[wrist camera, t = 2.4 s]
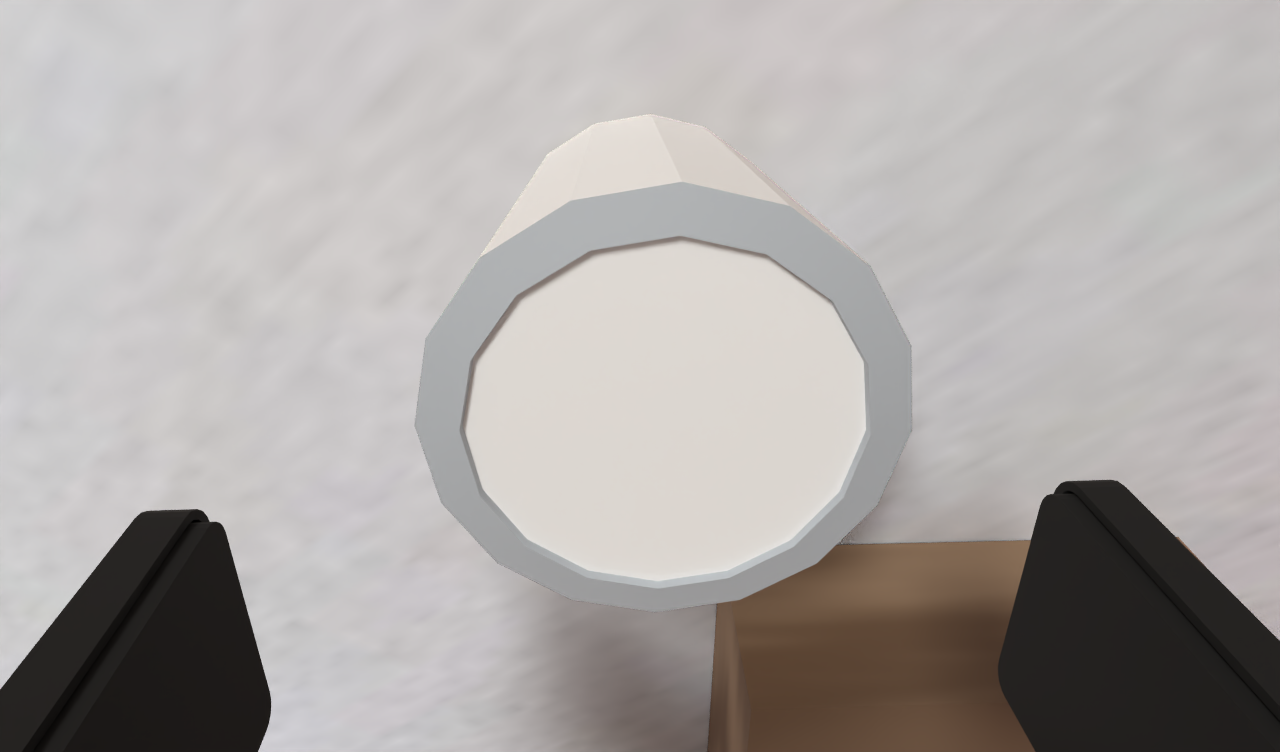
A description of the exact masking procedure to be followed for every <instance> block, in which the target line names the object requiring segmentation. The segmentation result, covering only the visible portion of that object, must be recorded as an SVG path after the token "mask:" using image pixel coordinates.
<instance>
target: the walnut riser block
mask: <svg viewBox="0 0 1280 752" xmlns="http://www.w3.org/2000/svg"><path fill="white" fill-rule="evenodd" d="M1176 538H1177V539H1178V540H1179V541H1180V542H1181V543H1182V544H1183V545H1184V546H1185V547H1186V548H1187V549H1188V550H1189V551H1190V552H1191V553H1192V551H1191V550H1190V549H1189V548H1188V547H1187V546H1186V545H1185V544H1184V543H1183V542H1182V541H1181V540H1180V538H1179V537H1176ZM1030 542H1031V540H1027V541H985V542H943V543H900V544H858V545H835V546H834V547H833V548H832V549H831V550H830V551H829V552H828V553H827V554H826V555H825V556H824V557H823V558H822V559H821V560H820V561H819V562H818V563H817V564H815V565H813V566H810V567H808V568H806V569H804V570H802V571H800V572H798V573H796V574H794V575H791V576H789V577H787V578H785V579H783V580H781V581H779V582H777V583H775V584H772V585H770V586H768V587H766V588H764V589H762V590H760V591H758V592H756V593H753V594H751V595H749V596H747V597H745V598H743V599H741V600H736V601H729V602H723V603H717V613H716V629H715V644H714V659H713V675H712V690H711V705H710V721H709V736H708V752H1035V750H1034V748H1033V746H1032V745H1031V743H1030V741H1029V739H1028V737H1027V736H1026V734H1025V732H1024V730H1023V729H1022V727H1021V725H1020V723H1019V721H1018V720H1017V718H1016V716H1015V714H1014V712H1013V711H1012V709H1011V707H1010V705H1009V704H1008V702H1007V700H1006V698H1005V696H1004V694H1003V692H1002V690H1001V686H1000V683H999V677H998V662H999V658H1000V654H1001V650H1002V647H1003V643H1004V639H1005V635H1006V632H1007V628H1008V624H1009V620H1010V617H1011V613H1012V609H1013V606H1014V602H1015V598H1016V594H1017V591H1018V587H1019V583H1020V579H1021V576H1022V572H1023V568H1024V565H1025V561H1026V557H1027V553H1028V550H1029V546H1030ZM1192 554H1193V553H1192ZM1193 555H1194V554H1193ZM1194 556H1195V555H1194ZM1195 557H1196V556H1195ZM1196 558H1197V557H1196ZM1197 559H1198V558H1197ZM1198 560H1199V559H1198ZM1199 561H1200V560H1199ZM1200 562H1201V561H1200ZM1201 563H1202V562H1201ZM1202 564H1203V563H1202ZM1203 565H1204V564H1203ZM1204 566H1205V565H1204Z"/></svg>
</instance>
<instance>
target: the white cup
mask: <svg viewBox="0 0 1280 752" xmlns="http://www.w3.org/2000/svg"><path fill="white" fill-rule="evenodd" d="M415 428H416V431H417V434H418V437H419V440H420V443H421V445H422V448H423V451H424V454H425V457H426V460H427V463H428V466H429V469H430V471H431V474H432V477H433V480H434V483H435V486H436V489H437V492H438V495H439V497H440V500H441V503H442V504H443V505H444V506H445V508H446V509H447V510H448V511H449V512H450V513H451V514H452V515H453V516H454V517H455V518H456V519H457V520H458V521H459V523H460V524H461V525H462V526H463V527H464V528H465V529H466V530H467V531H468V532H469V533H470V534H471V535H472V536H473V538H474V539H475V540H476V541H477V542H478V543H479V544H480V545H481V546H482V547H483V548H484V549H485V550H486V551H487V553H488V554H489V555H490V556H491V557H492V558H493V559H494V560H495V561H496V562H497V563H498V564H500V565H502V566H504V567H506V568H508V569H510V570H512V571H514V572H516V573H518V574H520V575H522V576H524V577H526V578H528V579H530V580H532V581H534V582H536V583H538V584H540V585H542V586H545V587H547V588H549V589H551V590H553V591H555V592H557V593H559V594H561V595H563V596H565V597H567V598H569V599H571V600H575V601H582V602H588V603H595V604H602V605H609V606H616V607H622V608H629V609H636V610H643V611H649V612H662V611H668V610H675V609H682V608H689V607H695V606H702V605H709V604H716V603H723V602H729V601H736V600H741V599H743V598H745V597H747V596H749V595H751V594H753V593H756V592H758V591H760V590H762V589H764V588H766V587H768V586H770V585H772V584H775V583H777V582H779V581H781V580H783V579H785V578H787V577H789V576H791V575H794V574H796V573H798V572H800V571H802V570H804V569H806V568H808V567H810V566H813V565H815V564H817V563H818V562H819V561H820V560H821V559H822V558H823V557H824V556H825V555H826V554H827V553H828V552H829V551H830V550H831V549H832V548H833V547H834V546H835V545H836V544H838V543H839V542H840V541H841V540H842V539H843V538H844V537H845V536H846V535H847V534H848V533H849V532H850V531H851V530H852V529H853V528H854V527H855V526H856V525H857V524H858V523H859V522H860V521H861V520H862V519H864V518H865V517H866V516H867V515H868V514H869V513H870V512H871V511H872V510H873V509H874V508H875V507H876V506H877V505H878V502H879V500H880V498H881V496H882V494H883V492H884V489H885V487H886V485H887V483H888V481H889V478H890V476H891V474H892V472H893V470H894V468H895V465H896V463H897V461H898V459H899V457H900V455H901V452H902V450H903V448H904V446H905V444H906V442H907V439H908V437H909V435H910V433H911V431H912V359H911V344H910V342H909V340H908V338H907V336H906V334H905V333H904V331H903V329H902V327H901V325H900V323H899V321H898V319H897V317H896V315H895V313H894V311H893V309H892V307H891V305H890V303H889V301H888V299H887V297H886V295H885V294H884V292H883V290H882V288H881V286H880V284H879V282H878V280H877V278H876V276H875V274H874V272H873V270H872V268H871V266H870V265H869V264H868V263H867V262H865V261H864V260H863V259H862V258H861V257H860V256H858V255H857V254H856V253H855V252H854V251H853V250H852V249H850V248H849V247H848V246H847V245H846V244H845V243H844V242H842V241H841V240H840V239H839V238H838V237H837V236H836V235H834V234H833V233H832V232H831V231H830V230H829V229H828V228H826V227H825V226H824V225H823V224H822V223H821V222H820V221H818V220H817V219H816V218H815V217H814V216H813V215H812V214H810V213H809V212H808V211H807V210H806V209H805V208H804V207H802V206H801V205H800V204H799V203H798V202H797V201H796V200H794V199H793V198H792V197H791V196H790V195H789V194H788V193H786V192H785V191H784V190H783V189H782V188H781V187H780V186H778V185H777V184H776V183H775V182H774V181H773V180H771V179H770V178H769V177H768V176H767V175H766V174H765V173H763V172H762V171H761V170H760V169H759V168H758V167H757V166H755V165H754V164H753V163H752V162H751V161H750V160H749V159H747V158H746V157H745V156H743V155H742V154H741V153H739V152H738V151H737V150H735V149H734V148H733V147H731V146H730V145H729V144H727V143H726V142H725V141H723V140H722V139H721V138H719V137H718V136H717V135H715V134H714V133H713V132H711V131H710V130H709V129H707V128H706V127H704V126H699V125H695V124H691V123H687V122H683V121H678V120H674V119H670V118H666V117H661V116H657V115H653V114H647V115H641V116H636V117H630V118H624V119H618V120H613V121H607V122H601V123H595V124H593V125H592V126H590V127H589V128H587V129H585V130H584V131H582V132H581V133H579V134H578V135H576V136H575V137H573V138H572V139H570V140H568V141H567V142H565V143H564V144H562V145H561V146H559V147H558V148H556V149H555V150H553V151H551V152H550V153H548V154H547V156H546V157H545V159H544V160H543V162H542V163H541V165H540V166H539V168H538V169H537V171H536V172H535V174H534V175H533V177H532V178H531V180H530V181H529V183H528V184H527V186H526V187H525V189H524V190H523V192H522V193H521V195H520V196H519V198H518V199H517V201H516V202H515V204H514V205H513V207H512V208H511V210H510V211H509V213H508V215H507V216H506V218H505V219H504V221H503V222H502V224H501V225H500V227H499V228H498V230H497V231H496V233H495V234H494V236H493V237H492V239H491V240H490V242H489V243H488V245H487V246H486V248H485V249H484V251H483V252H482V254H481V255H480V257H479V259H478V260H477V262H476V263H475V265H474V266H473V268H472V269H471V271H470V272H469V274H468V275H467V277H466V278H465V280H464V281H463V283H462V284H461V286H460V287H459V289H458V290H457V292H456V293H455V295H454V296H453V298H452V299H451V301H450V303H449V304H448V306H447V307H446V309H445V310H444V312H443V313H442V315H441V316H440V318H439V319H438V321H437V322H436V324H435V325H434V327H433V328H432V330H431V331H430V333H429V334H428V336H427V337H426V340H425V348H424V356H423V364H422V371H421V379H420V387H419V395H418V402H417V410H416V418H415Z"/></svg>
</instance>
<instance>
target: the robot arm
mask: <svg viewBox="0 0 1280 752" xmlns="http://www.w3.org/2000/svg"><path fill="white" fill-rule="evenodd" d="M998 677H999V683H1000V686H1001V690H1002V692H1003V694H1004V696H1005V698H1006V700H1007V702H1008V704H1009V705H1010V707H1011V709H1012V711H1013V712H1014V714H1015V716H1016V718H1017V720H1018V721H1019V723H1020V725H1021V727H1022V729H1023V730H1024V732H1025V734H1026V736H1027V737H1028V739H1029V741H1030V743H1031V745H1032V746H1033V748H1034V750H1035V752H1280V641H1279V640H1278V639H1277V638H1276V637H1275V636H1274V635H1273V634H1272V633H1271V632H1270V631H1269V630H1268V629H1267V628H1266V627H1265V626H1264V625H1263V624H1262V623H1261V622H1260V621H1259V620H1258V619H1257V618H1256V617H1255V616H1254V615H1253V614H1252V613H1251V612H1250V611H1249V610H1248V609H1247V608H1246V607H1245V606H1244V605H1243V604H1242V603H1241V602H1240V601H1239V600H1238V599H1237V598H1236V597H1235V596H1234V595H1233V594H1232V593H1231V592H1230V591H1229V590H1228V589H1227V588H1226V587H1225V586H1224V585H1223V584H1222V583H1221V582H1220V581H1219V580H1218V579H1217V578H1216V577H1215V576H1214V575H1213V574H1212V573H1211V572H1210V571H1209V570H1208V569H1207V568H1206V567H1205V566H1204V565H1203V564H1202V563H1201V562H1200V561H1199V560H1198V559H1197V558H1196V557H1195V556H1194V555H1193V554H1192V553H1191V552H1190V551H1189V550H1188V549H1187V548H1186V547H1185V546H1184V545H1183V544H1182V543H1181V542H1180V541H1179V540H1178V539H1177V538H1176V537H1175V536H1174V535H1173V534H1172V533H1171V532H1170V531H1169V530H1168V529H1167V528H1166V527H1165V526H1164V525H1163V524H1162V523H1161V522H1160V521H1159V520H1158V519H1157V518H1156V517H1155V516H1154V515H1153V514H1152V513H1151V512H1150V511H1149V510H1148V509H1147V508H1146V507H1145V506H1144V505H1143V504H1142V503H1141V502H1140V501H1139V500H1138V499H1137V498H1136V497H1135V496H1134V495H1133V494H1132V493H1131V492H1130V491H1129V490H1128V489H1127V488H1126V487H1125V486H1124V485H1122V484H1121V483H1120V482H1118V481H1114V480H1092V481H1066V482H1063V483H1061V484H1060V485H1059V486H1058V487H1057V488H1056V490H1055V492H1054V494H1050V495H1047V496H1046V497H1045V498H1044V499H1043V500H1042V503H1041V505H1040V509H1039V512H1038V516H1037V520H1036V523H1035V527H1034V531H1033V535H1032V538H1031V542H1030V546H1029V550H1028V553H1027V557H1026V561H1025V565H1024V568H1023V572H1022V576H1021V579H1020V583H1019V587H1018V591H1017V594H1016V598H1015V602H1014V606H1013V609H1012V613H1011V617H1010V620H1009V624H1008V628H1007V632H1006V635H1005V639H1004V643H1003V647H1002V650H1001V654H1000V658H999V662H998ZM270 714H271V697H270V691H269V688H268V684H267V680H266V677H265V673H264V670H263V666H262V662H261V659H260V655H259V651H258V648H257V644H256V641H255V637H254V633H253V630H252V626H251V622H250V619H249V615H248V612H247V608H246V604H245V601H244V597H243V593H242V590H241V586H240V583H239V579H238V575H237V572H236V568H235V565H234V561H233V557H232V554H231V550H230V546H229V543H228V539H227V536H226V532H225V530H224V527H223V526H222V525H221V524H220V523H218V522H209V520H208V517H207V516H206V514H205V513H204V512H203V511H201V510H198V509H191V510H160V511H146V512H142V513H140V514H139V515H138V516H137V517H136V518H135V519H134V520H133V522H132V523H131V524H130V525H129V527H128V528H127V529H126V530H125V532H124V533H123V534H122V536H121V537H120V538H119V539H118V541H117V542H116V543H115V544H114V546H113V547H112V548H111V549H110V551H109V552H108V553H107V555H106V556H105V557H104V558H103V560H102V561H101V562H100V563H99V565H98V566H97V567H96V569H95V570H94V571H93V572H92V574H91V575H90V576H89V577H88V579H87V580H86V581H85V583H84V584H83V585H82V586H81V588H80V589H79V590H78V591H77V593H76V594H75V595H74V597H73V598H72V599H71V600H70V602H69V603H68V604H67V605H66V607H65V608H64V609H63V611H62V612H61V613H60V614H59V616H58V617H57V618H56V619H55V621H54V622H53V623H52V624H51V626H50V627H49V628H48V630H47V631H46V632H45V633H44V635H43V636H42V637H41V638H40V640H39V641H38V642H37V644H36V645H35V646H34V647H33V649H32V650H31V651H30V652H29V654H28V655H27V656H26V658H25V659H24V660H23V661H22V663H21V664H20V665H19V666H18V668H17V669H16V670H15V672H14V673H13V674H12V675H11V677H10V678H9V679H8V680H7V682H6V683H5V684H4V686H3V687H2V688H1V689H0V752H258V750H259V748H260V745H261V743H262V740H263V738H264V735H265V733H266V730H267V727H268V724H269V719H270Z"/></svg>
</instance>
